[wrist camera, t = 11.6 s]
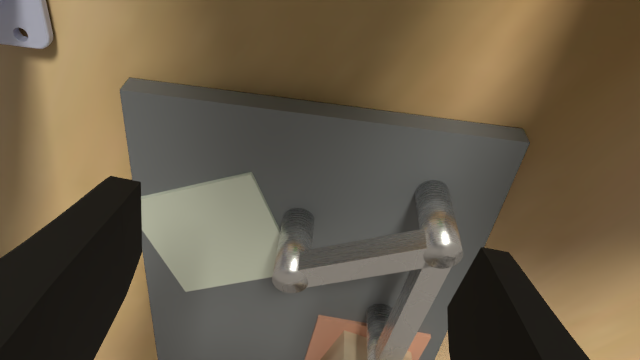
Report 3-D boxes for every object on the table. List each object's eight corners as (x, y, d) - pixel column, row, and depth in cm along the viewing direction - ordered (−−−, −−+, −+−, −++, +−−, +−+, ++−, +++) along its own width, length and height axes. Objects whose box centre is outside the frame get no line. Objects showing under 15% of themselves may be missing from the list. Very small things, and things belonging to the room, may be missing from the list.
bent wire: (274, 308, 26) (264, 370, 24) (287, 161, 21) (277, 220, 18) (403, 324, 27) (409, 387, 24) (453, 182, 21) (468, 243, 18)
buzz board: (156, 352, 31) (150, 370, 30) (117, 76, 20) (105, 90, 19) (416, 382, 32) (417, 401, 31) (522, 128, 20) (531, 145, 19)
